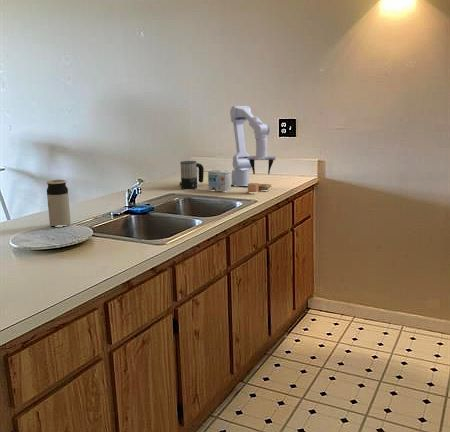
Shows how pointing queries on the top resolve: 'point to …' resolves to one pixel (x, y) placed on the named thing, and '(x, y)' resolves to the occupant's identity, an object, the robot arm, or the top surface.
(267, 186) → the plinth
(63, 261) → the top surface
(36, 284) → the top surface
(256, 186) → the block
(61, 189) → the travel mug
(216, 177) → the light bulb box
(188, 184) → the milk frother
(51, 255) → the top surface
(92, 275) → the top surface
